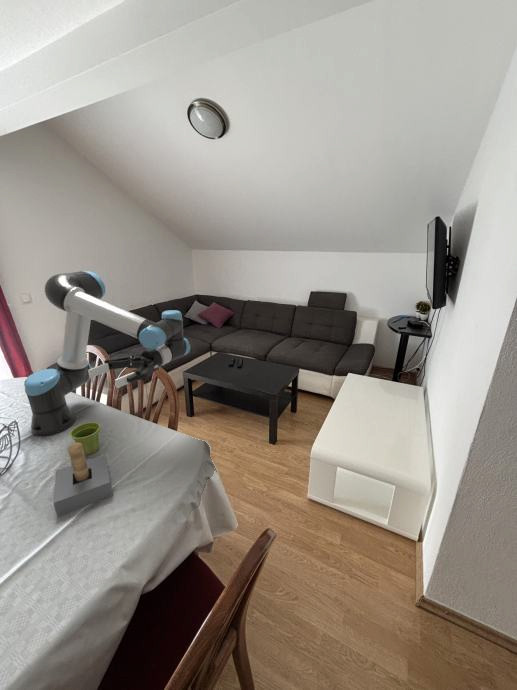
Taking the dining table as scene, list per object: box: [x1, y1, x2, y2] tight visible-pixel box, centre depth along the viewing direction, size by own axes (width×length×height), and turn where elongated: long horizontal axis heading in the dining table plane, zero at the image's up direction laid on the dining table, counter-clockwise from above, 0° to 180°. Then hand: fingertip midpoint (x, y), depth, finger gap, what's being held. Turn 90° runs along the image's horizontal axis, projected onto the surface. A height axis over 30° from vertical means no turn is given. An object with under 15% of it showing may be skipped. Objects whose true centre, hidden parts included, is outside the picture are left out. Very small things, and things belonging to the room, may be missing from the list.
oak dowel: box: [67, 442, 90, 483], centre depth 85 cm, size 4×4×15 cm
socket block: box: [53, 454, 114, 517], centre depth 87 cm, size 14×14×5 cm
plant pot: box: [69, 421, 101, 456], centre depth 104 cm, size 9×9×9 cm
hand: (102, 378), depth 88 cm, fingers open, 13 cm apart
